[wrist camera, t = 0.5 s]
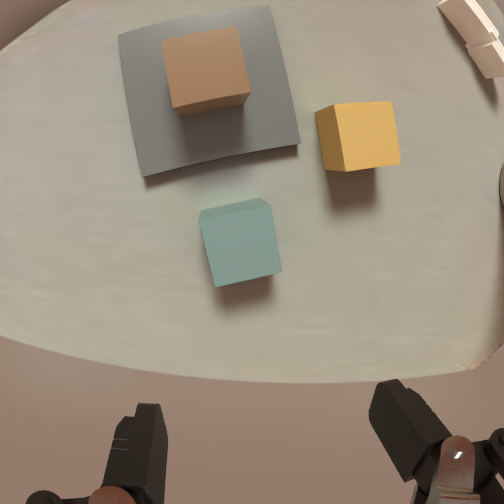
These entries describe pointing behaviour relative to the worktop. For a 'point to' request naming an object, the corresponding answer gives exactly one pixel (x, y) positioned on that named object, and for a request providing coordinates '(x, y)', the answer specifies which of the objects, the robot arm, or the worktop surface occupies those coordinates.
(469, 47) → the notched block
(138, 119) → the baseplate
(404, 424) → the robot arm
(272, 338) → the worktop surface
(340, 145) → the ochre block
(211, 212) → the teal block
